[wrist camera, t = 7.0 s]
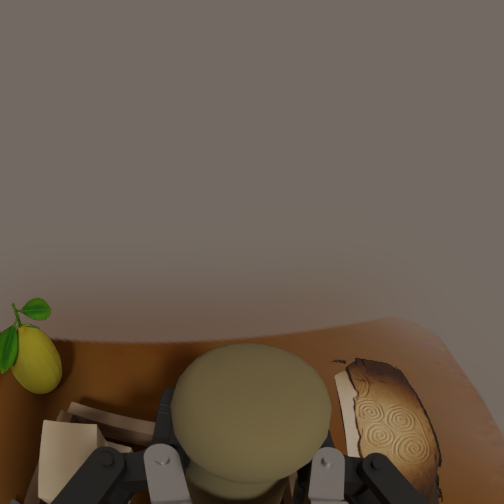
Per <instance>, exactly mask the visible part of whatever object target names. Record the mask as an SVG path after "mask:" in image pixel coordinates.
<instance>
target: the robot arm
mask: <svg viewBox="0 0 504 504" xmlns="http://www.w3.org/2000/svg"><path fill="white" fill-rule="evenodd" d="M174 391H175V387H169V386H168V387H167V389H166V390H165V391H164V392H163V393H162V396H161V400H160V406H159V409H158V413H157V418H156V423H155V427H154V432H153V437H152V441H151V443H150V445H149V446H148V447H147V448H145V449H144V450H142V451H138V452H127V453H120V452H119V451H118V450H116V449H115V448H112V447H108V446H102V447H99V448H96V449H95V450H94V451H93V452H92V453H91V454H90V456H89V457H88V458H87V459H86V461H85V462H84V463H83V464H82V466H81V467H80V468H79V469H78V470H77V472H76V473H75V474H74V475H73V477H72V478H71V479H70V480H69V481H68V483H67V484H66V485H65V486H64V488H63V489H62V490H61V491H60V492H59V494H58V495H57V496H56V497H55V499H54V500H53V501H52V502H51V503H50V504H128V503H129V501H130V500H131V498H132V496H133V495H134V493H135V492H149V493H150V498H151V504H192V501H191V498H190V495H189V491H188V488H187V484H186V480H185V472H186V468H188V467H189V463H190V457H189V456H188V455H187V454H186V452H185V451H184V449H183V448H182V446H181V444H180V443H179V441H178V439H177V438H176V436H175V432H174V427H173V421H172V414H171V408H170V405H171V401H172V398H173V394H174ZM291 504H429V503H428V502H427V501H426V500H425V499H424V498H423V497H422V496H421V495H420V494H419V492H418V491H417V490H416V489H415V488H414V487H413V486H412V485H411V483H410V482H409V481H408V480H407V479H406V478H405V477H404V476H403V474H402V473H401V472H400V471H399V470H398V469H397V468H396V466H395V465H394V464H393V463H392V462H391V461H390V460H389V458H388V457H387V456H385V455H384V454H382V453H376V452H375V453H370V454H368V455H367V456H366V457H365V458H360V457H351V456H346V455H343V454H342V453H341V452H340V451H339V450H337V449H336V448H335V446H334V444H333V441H332V438H331V434H330V431H329V429H328V435H327V438H326V439H325V441H324V442H323V444H322V445H321V447H320V448H319V450H318V451H317V453H316V454H315V456H314V457H313V458H312V459H311V461H310V462H309V463H307V464H306V465H304V466H303V467H302V468H300V469H299V470H297V478H296V480H295V485H294V491H293V497H292V502H291Z"/></svg>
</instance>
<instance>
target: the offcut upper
mask: <svg viewBox="0 0 504 504" xmlns="http://www.w3.org/2000/svg"><path fill="white" fill-rule="evenodd" d="M102 446H108V447H109V445H108V443H107V442H106V440H105V438H104V437H103V435H102V433H101V431H100V429H99V428H98V426H97V424H79V423H67V422H57V421H48V420H44V422H43V429H42V437H41V446H40V457H39V475H38V497H39V498H40V499H42V500H43V501H45V502H46V503H48V504H50V503H51V502H52V501H53V500H54V499H55V497H56V496H57V495H58V494H59V492H60V491H61V490H62V489H63V488H64V486H65V485H66V484H67V483H68V481H69V480H70V479H71V478H72V477H73V475H74V474H75V473H76V472H77V470H78V469H79V468H80V467H81V466H82V464H83V463H84V462H85V461H86V459H87V458H88V457H89V456H90V454H91V453H92V452H93V451H94V450H95V449H96V448H99V447H102Z"/></svg>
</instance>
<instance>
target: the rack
mask: <svg viewBox="0 0 504 504" xmlns="http://www.w3.org/2000/svg"><path fill="white" fill-rule="evenodd" d="M56 421H57V422H67V423H79V424H97V426H98V428H99V429H100V431H101V433H102V435H103V437H107V438H110V439H114V440H118V441H122V442H126V443H130V444H135V445H140V446H144V447H148V446H149V445H150V443H151V441H152V437H153V432H154V427H155V423H156V422H150V421H145V420H139V419H135V418H130V417H125V416H121V415H117V414H113V413H109V412H105V411H101V410H98V409H94V408H91V407H87V406H84V405H81V404H78V403H75V402H72V403H71V405H70V407H69V409H68V411H67V412H66V411H64V410H61V411H60V413H59V415H58V418H57V420H56ZM38 475H39V461H38V464H37V466H36V469H35V471H34V474H33V477H32V479H31V482H30V485H29V488H28V491H27V494H26V497H25V500H24V503H23V504H48V503H46V502H45V501H43V500H42V499H40V498H39V497H38ZM296 478H297V471H296V472H294V473H292V474H291V475H290V476H289V479H288V482H287V485H286V488H285V491H284V494H283V503H284V504H291V502H292V497H293V491H294V485H295V480H296Z"/></svg>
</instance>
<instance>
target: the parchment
mask: <svg viewBox="0 0 504 504" xmlns="http://www.w3.org/2000/svg"><path fill="white" fill-rule="evenodd" d="M332 362H340V363H344V364H345V363H346V361H345V360H344V361H342V360H335V361H332ZM335 380H336V385H337V390H338V394H339V399H340V404H341V409H342V415H343V420H344V427H345V434H346V443H347V451H348V456H351V457H360V458H365V457H366V456H367V455H368V454H370V453H375V452H376V453H382V454H384V455H385V456H387V457H388V458H389V460H390V461H391V462H392V463H393V464H394V465H395V466H396V468H397V469H398V470H399V471H400V472H401V473H402V474H403V476H404V477H405V478H406V479H407V480H408V481H409V482H410V483H411V485H412V486H413V487H414V488H415V489H416V490H417V491H418V492H419V494H420V495H421V496H422V497H423V498H424V499H425V500H426V501H427V502H428V503H429V504H439V503H438V498H440V497H441V498H442V492H441V489H439V475H437V469H438V466H439V467H441V463H442V459H441V453H440V449H439V444H438V441H437V437H436V434H435V431H434V429H433V427H432V424H431V422H430V419H429V417H428V415H427V413H426V410H425V409H424V407H423V405H422V403H421V401H420V399H419V398H418V396H417V394H416V393H415V391H414V389H413V388H412V387H411V385H410V384H409V382H408V381H407V379H406V377H405V376H404V374H403V373H402V372H401V370H399V369H397V370H396V368H394V367H393V366H391V365H390V364H387V363H383V362H377V361H373V360H366V359H362V360H361V359H360V358H355V362H353V363H351V364H350V365H348V366H347V367H346V371H343V372H340V373H339V374H337V375H336V376H335ZM438 490H439V492H437V491H438ZM439 493H440V494H439ZM441 501H442V500H441ZM442 502H443V501H442Z"/></svg>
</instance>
